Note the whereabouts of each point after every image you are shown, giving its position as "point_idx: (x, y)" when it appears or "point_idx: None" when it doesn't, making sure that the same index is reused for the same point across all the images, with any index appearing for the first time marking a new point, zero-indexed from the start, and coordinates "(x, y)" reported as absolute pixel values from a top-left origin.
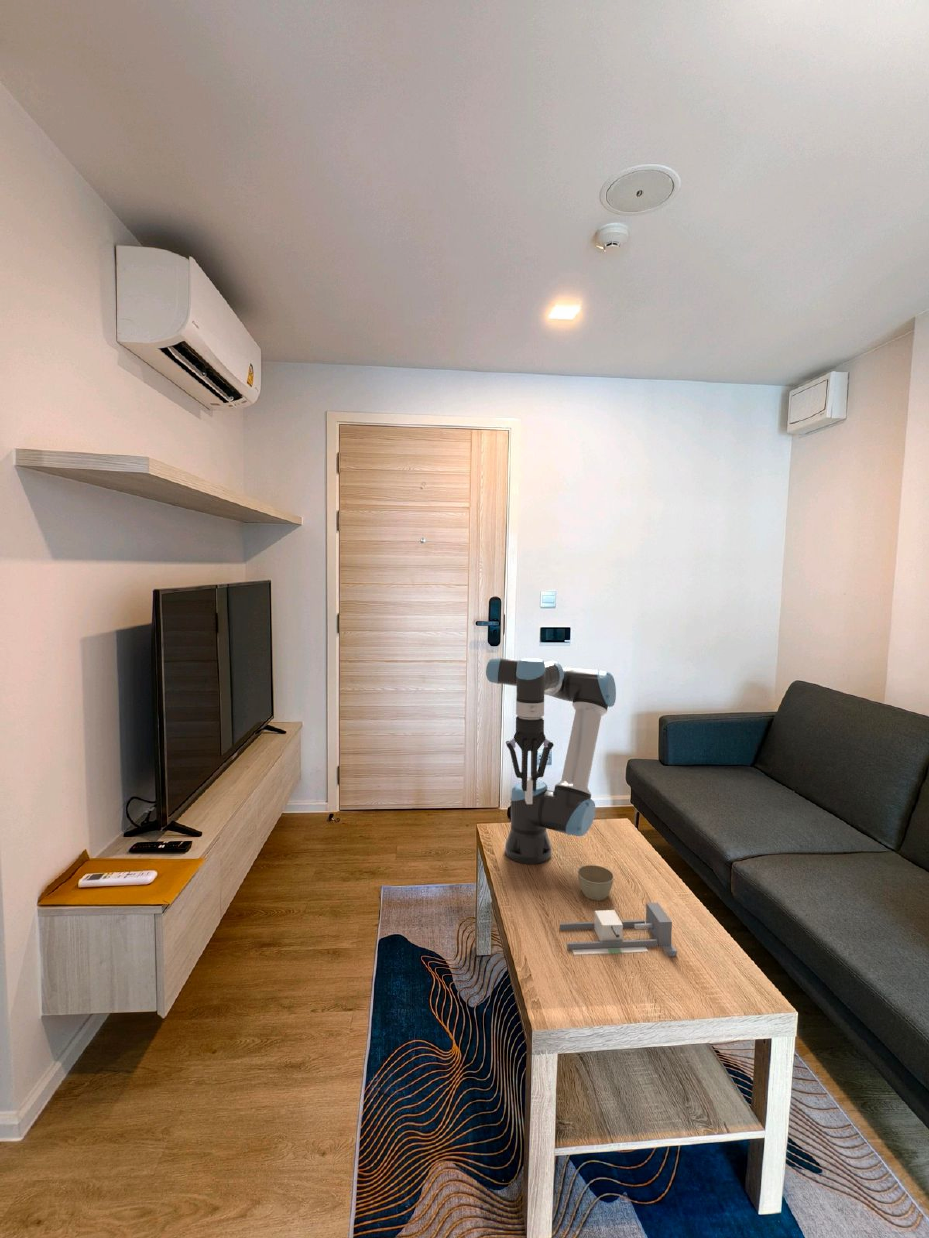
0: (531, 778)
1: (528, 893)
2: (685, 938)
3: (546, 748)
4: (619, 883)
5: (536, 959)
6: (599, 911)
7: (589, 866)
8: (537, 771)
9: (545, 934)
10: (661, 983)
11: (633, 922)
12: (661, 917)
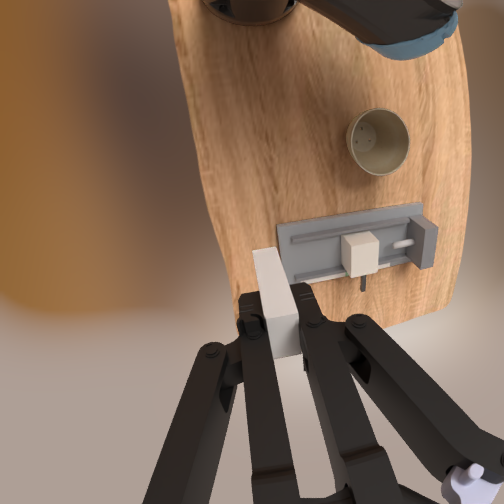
0: (298, 333)
1: (245, 127)
2: (437, 225)
3: (441, 481)
4: (406, 94)
5: (252, 286)
6: (357, 247)
7: (376, 109)
8: (346, 341)
9: (268, 237)
10: (380, 298)
11: (395, 224)
12: (426, 259)
